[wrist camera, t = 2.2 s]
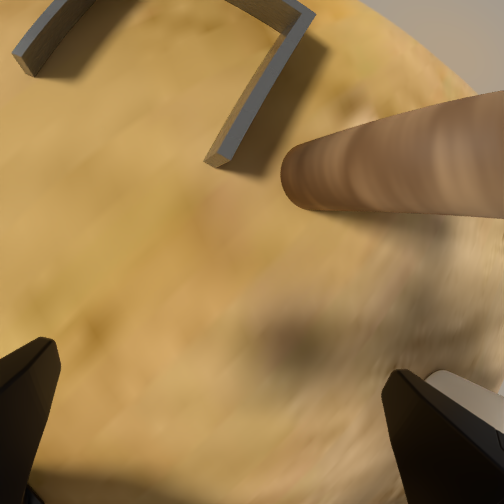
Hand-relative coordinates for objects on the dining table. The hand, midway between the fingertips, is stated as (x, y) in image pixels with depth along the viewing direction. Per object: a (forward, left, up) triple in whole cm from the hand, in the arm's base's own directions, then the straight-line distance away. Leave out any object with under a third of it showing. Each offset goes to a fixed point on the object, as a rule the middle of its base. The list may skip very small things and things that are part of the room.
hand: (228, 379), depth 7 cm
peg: (+4, -10, -11) cm, 16 cm away
